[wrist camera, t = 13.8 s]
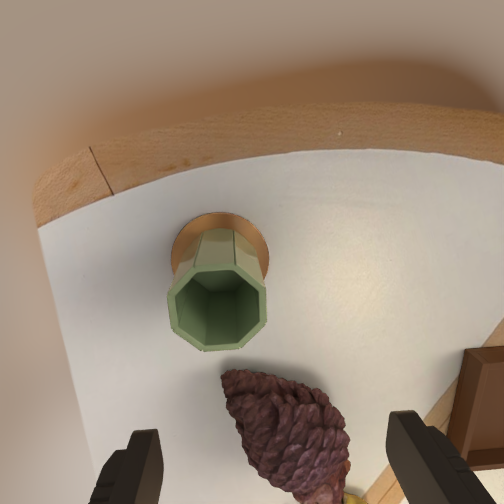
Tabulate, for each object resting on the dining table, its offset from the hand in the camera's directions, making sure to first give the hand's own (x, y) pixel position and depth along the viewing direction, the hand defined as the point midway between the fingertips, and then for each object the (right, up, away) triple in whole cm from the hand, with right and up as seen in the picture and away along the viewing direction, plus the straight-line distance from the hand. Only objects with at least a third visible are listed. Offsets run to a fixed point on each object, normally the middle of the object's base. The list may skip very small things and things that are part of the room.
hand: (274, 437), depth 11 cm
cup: (-4, +5, +19) cm, 20 cm away
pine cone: (+3, -10, +25) cm, 27 cm away
